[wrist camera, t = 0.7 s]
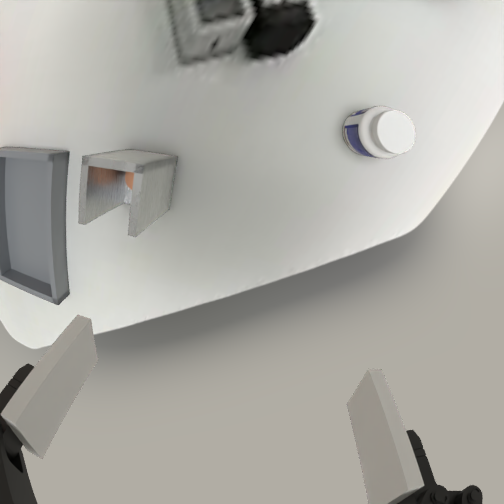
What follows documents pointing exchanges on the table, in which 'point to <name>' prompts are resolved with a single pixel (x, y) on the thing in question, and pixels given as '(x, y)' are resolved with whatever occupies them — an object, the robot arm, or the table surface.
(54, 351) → the robot arm
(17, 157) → the tray
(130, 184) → the mixing ball
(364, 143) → the pill bottle
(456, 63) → the table surface
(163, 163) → the u-shaped arch block
